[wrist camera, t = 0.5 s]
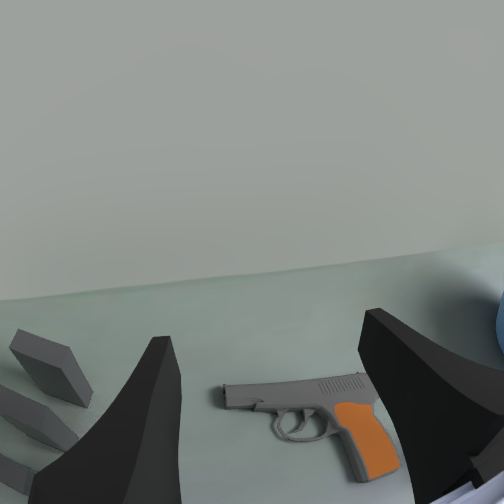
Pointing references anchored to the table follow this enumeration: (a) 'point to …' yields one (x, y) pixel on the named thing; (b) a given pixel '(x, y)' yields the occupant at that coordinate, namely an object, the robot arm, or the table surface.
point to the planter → (500, 324)
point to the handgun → (329, 416)
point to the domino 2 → (35, 420)
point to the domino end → (52, 367)
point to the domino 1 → (16, 475)
